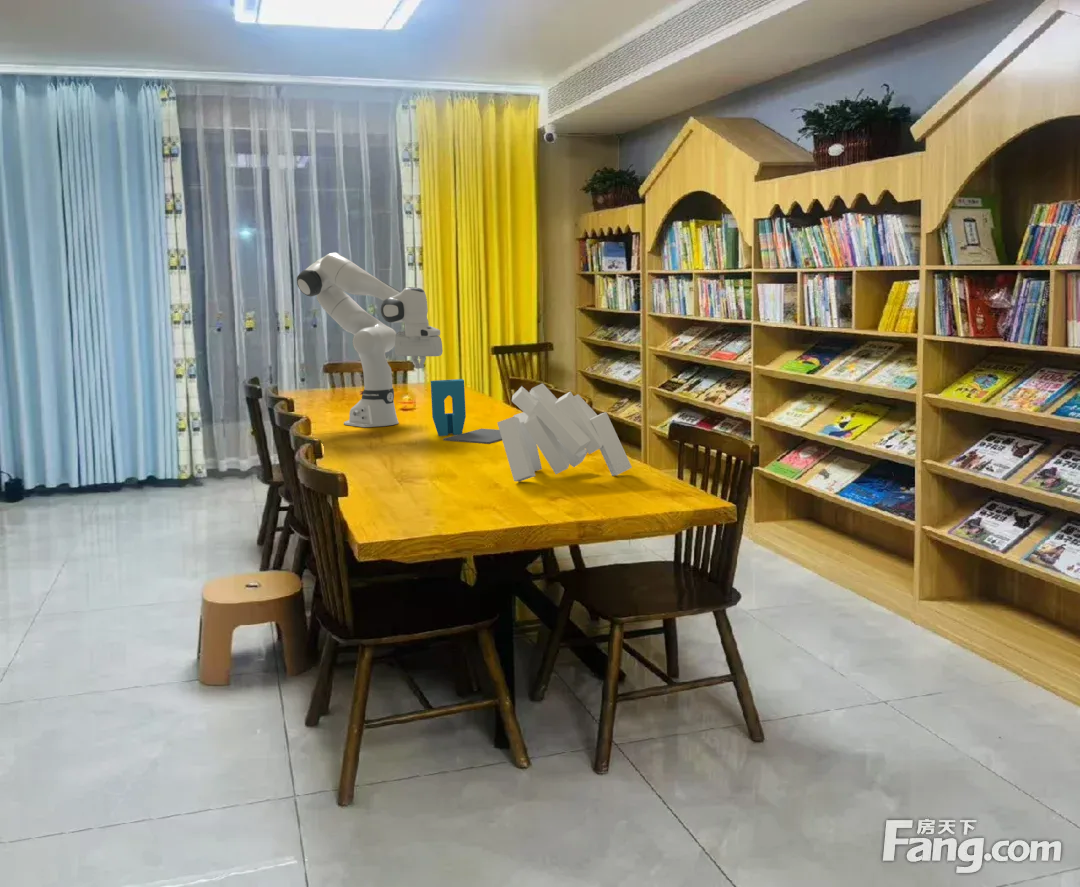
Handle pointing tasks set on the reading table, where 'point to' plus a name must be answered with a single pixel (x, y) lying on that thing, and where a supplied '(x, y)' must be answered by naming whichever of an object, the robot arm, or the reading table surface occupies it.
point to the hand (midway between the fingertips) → (419, 368)
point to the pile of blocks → (557, 434)
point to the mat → (478, 436)
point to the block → (455, 420)
